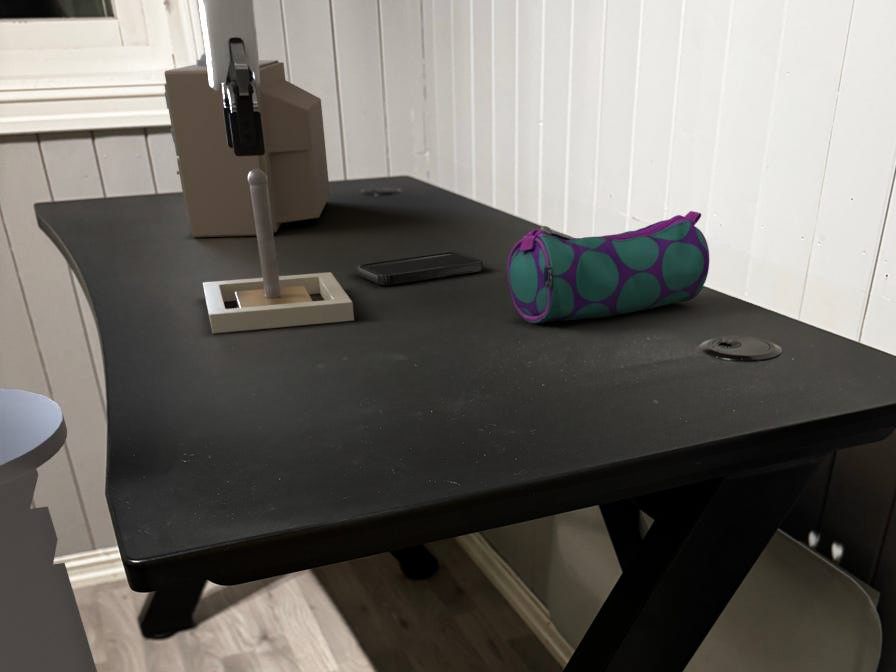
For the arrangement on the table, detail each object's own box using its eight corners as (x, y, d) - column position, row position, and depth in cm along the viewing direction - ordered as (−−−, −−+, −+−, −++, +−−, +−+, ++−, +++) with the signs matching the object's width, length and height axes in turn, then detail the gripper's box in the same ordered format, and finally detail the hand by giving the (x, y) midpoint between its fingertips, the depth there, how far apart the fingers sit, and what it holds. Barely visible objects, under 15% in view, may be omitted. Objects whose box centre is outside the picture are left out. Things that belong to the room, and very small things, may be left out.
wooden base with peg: (242, 322, 103) (219, 176, 95) (236, 304, 109) (215, 166, 101) (315, 315, 104) (299, 171, 96) (305, 298, 111) (289, 162, 103)
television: (222, 200, 173) (181, -71, 151) (333, 197, 174) (308, -73, 152) (182, 238, 143) (123, -93, 121) (316, 235, 144) (282, -95, 122)
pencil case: (542, 335, 97) (545, 236, 91) (505, 315, 103) (505, 221, 98) (708, 310, 104) (719, 217, 98) (663, 293, 110) (671, 204, 105)
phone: (354, 265, 120) (455, 250, 126) (355, 274, 120) (456, 259, 127) (381, 277, 114) (486, 261, 121) (382, 286, 115) (486, 270, 121)
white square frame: (212, 333, 99) (209, 314, 98) (205, 299, 111) (202, 282, 110) (354, 320, 102) (352, 302, 101) (332, 289, 115) (331, 272, 114)
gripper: (181, -35, 100) (207, 146, 109) (186, -48, 86) (215, 160, 95) (252, -34, 102) (272, 144, 111) (268, -47, 88) (289, 157, 97)
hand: (246, 151), depth 103 cm, fingers open, 9 cm apart
